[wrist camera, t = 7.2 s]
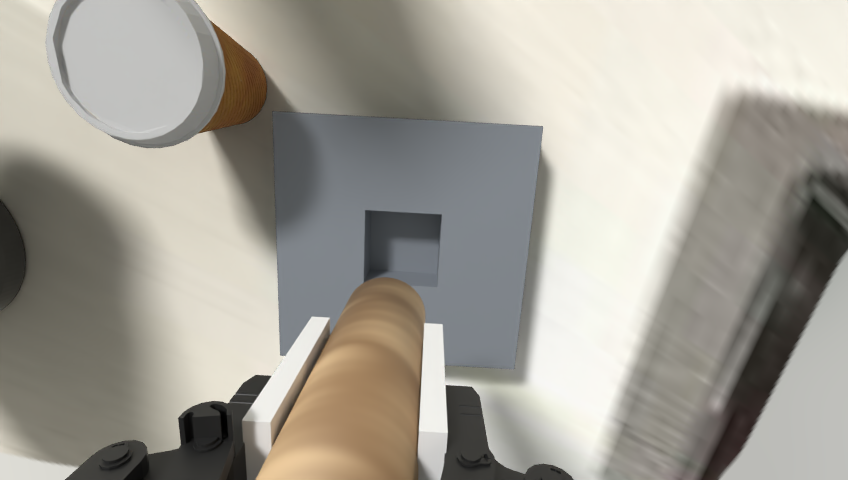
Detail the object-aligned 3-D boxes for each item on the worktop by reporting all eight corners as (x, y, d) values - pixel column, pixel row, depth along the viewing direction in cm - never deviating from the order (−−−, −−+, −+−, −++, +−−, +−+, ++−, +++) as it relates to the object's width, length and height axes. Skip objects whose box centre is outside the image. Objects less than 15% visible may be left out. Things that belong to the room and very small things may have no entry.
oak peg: (345, 348, 22) (195, 712, 8) (346, 275, 21) (176, 546, 7) (423, 353, 21) (405, 727, 8) (427, 279, 20) (416, 560, 7)
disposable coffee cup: (195, -3, 33) (65, -78, 21) (305, 60, 34) (238, 20, 22) (154, 109, 35) (15, 96, 23) (259, 165, 36) (176, 179, 24)
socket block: (295, 333, 40) (280, 355, 36) (290, 113, 35) (272, 111, 31) (506, 346, 39) (514, 369, 36) (530, 127, 35) (543, 126, 31)
